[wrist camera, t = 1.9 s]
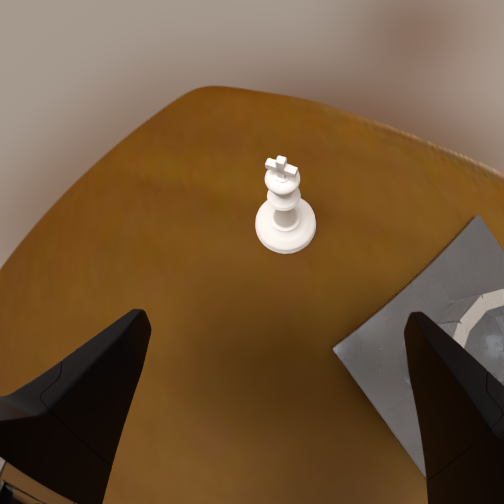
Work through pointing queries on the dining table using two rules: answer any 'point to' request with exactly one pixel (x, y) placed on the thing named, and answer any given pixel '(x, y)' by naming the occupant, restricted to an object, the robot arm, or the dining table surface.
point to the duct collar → (444, 315)
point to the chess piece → (284, 210)
